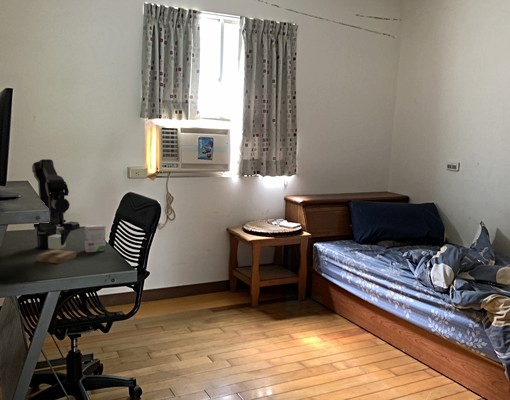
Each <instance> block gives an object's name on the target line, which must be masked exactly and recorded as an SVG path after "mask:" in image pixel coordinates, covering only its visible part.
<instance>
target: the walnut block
mask: <svg viewBox="0 0 510 400" xmlns="http://www.w3.org/2000/svg"><path fill="white" fill-rule="evenodd" d="M36 257H37V262H42V263H50V264H51V263H52V264H63V263H65V262H67V261H70V260H72V259H75V258H77V251H76V250H75V251H73V250H65V249H51V250H48V251H45V252H41V253H38V254H37V256H36Z"/></svg>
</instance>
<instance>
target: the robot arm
mask: <svg viewBox="0 0 510 400" xmlns="http://www.w3.org/2000/svg"><path fill="white" fill-rule="evenodd" d="M31 170H32V173H33V177H34V179H36V182H37V187H38V198H39V197H40V199H41V200H42V201H43V202H44V203H45V205H46V206H47V207H48V208H49V210H50V211H51V222H49V223H39V224H34V223H33V228H34V229H33V233H34V235H35V236H36V239H37V240H36V242H37V244H36V245H37V246H34V248H35V249H42V250H49V249H50V248H48V236H52V235H55V234H57V228H62V229H59V230H58V231H59V233H60V235H61V245H64V243H65V241H66V242H67V238H68V236H69V235H70V232H73V231H76V230H79V229H80V227H81V226H80V222H78V221H67V220H66V219H64V218H65V217H64V215H65V214H66V211H68V210H69V209H70V202H69V200H68V199H66V198H65V197H66V196H69V193H70V191H69V187H68V184H67V182H66V181H65V179H64V177H62V176H61V175H58V173H57V171H56V168H55V164H54V160H53V159H50V158H49V159H46V158H45V159H40V160H38V161H35V162H33V164H32V165H31ZM66 221H67V222H66Z"/></svg>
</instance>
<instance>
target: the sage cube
mask: <svg viewBox="0 0 510 400" xmlns="http://www.w3.org/2000/svg"><path fill="white" fill-rule="evenodd" d="M66 246H67V240H66V241H65V243H64V245H61V234H57V233H56V234H55V235H52V236H48V248H49V249H51V250H53V249H56V250H62V249H63V248H66Z"/></svg>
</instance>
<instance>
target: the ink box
mask: <svg viewBox="0 0 510 400" xmlns="http://www.w3.org/2000/svg"><path fill="white" fill-rule="evenodd" d="M106 249H107V248H106V226H105V225H104V224H94V225H92V224H91V225H84V251H85V253H95V252H105V251H107V250H106Z"/></svg>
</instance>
